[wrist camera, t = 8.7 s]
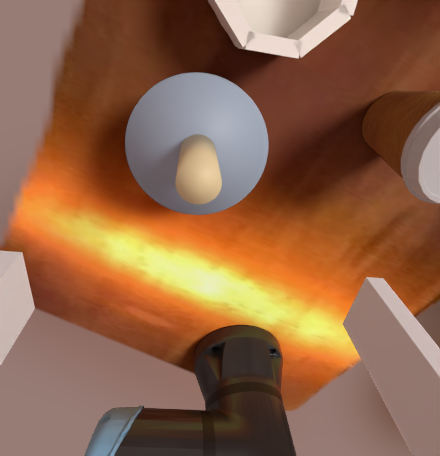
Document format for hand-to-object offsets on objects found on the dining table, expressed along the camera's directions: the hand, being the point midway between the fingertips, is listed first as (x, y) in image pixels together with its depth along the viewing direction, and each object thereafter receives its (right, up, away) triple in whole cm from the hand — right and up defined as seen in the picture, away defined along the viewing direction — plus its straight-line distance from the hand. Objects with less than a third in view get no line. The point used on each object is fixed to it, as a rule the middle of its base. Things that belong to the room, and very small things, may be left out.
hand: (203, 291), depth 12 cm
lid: (-1, +10, +16) cm, 19 cm away
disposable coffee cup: (+20, +14, +22) cm, 33 cm away
